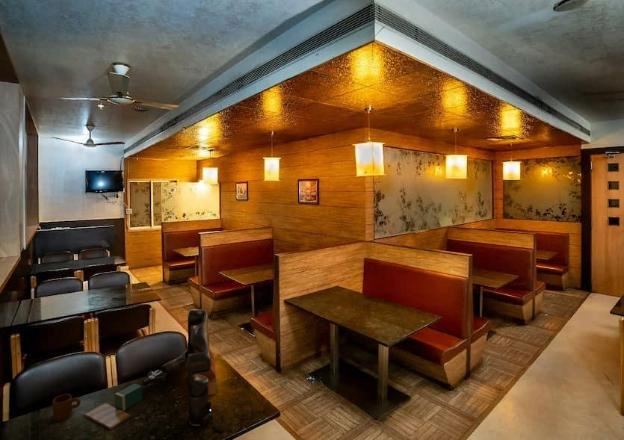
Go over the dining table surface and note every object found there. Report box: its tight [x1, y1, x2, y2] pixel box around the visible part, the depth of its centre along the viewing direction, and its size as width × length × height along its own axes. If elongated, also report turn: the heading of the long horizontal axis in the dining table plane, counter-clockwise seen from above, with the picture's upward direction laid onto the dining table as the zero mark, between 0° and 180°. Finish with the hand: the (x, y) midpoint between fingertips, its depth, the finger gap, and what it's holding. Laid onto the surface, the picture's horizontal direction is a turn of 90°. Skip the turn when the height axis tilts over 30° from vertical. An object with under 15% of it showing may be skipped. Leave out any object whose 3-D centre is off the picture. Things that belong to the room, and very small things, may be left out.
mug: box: [52, 393, 82, 422], centre depth 169 cm, size 12×8×9 cm, turn 97°
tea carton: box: [114, 383, 143, 412], centre depth 179 cm, size 6×11×8 cm, turn 153°
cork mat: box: [84, 402, 132, 430], centre depth 169 cm, size 20×10×1 cm, turn 63°
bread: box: [197, 350, 218, 396], centre depth 197 cm, size 25×12×15 cm, turn 18°
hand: (143, 383), depth 186 cm, fingers closed
